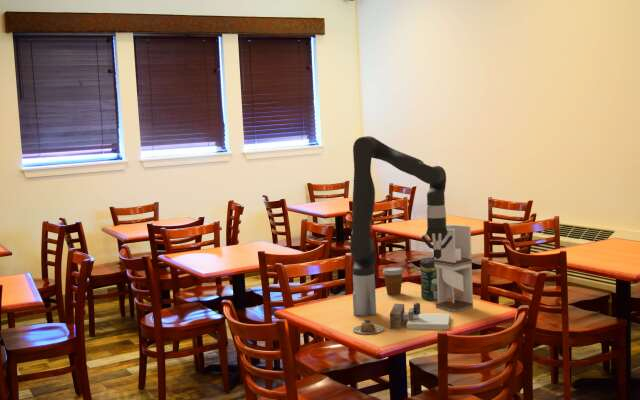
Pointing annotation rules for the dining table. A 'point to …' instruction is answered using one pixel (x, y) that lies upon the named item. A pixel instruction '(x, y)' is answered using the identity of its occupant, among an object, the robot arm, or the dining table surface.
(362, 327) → the pastry
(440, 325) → the door board
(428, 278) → the coffee jar
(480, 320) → the dining table surface
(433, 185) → the robot arm
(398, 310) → the block
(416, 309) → the bolt
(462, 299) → the display case
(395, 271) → the disposable coffee cup
